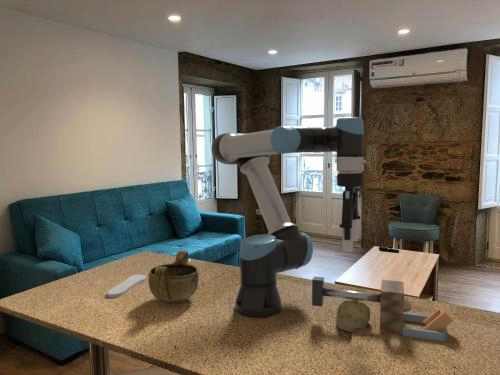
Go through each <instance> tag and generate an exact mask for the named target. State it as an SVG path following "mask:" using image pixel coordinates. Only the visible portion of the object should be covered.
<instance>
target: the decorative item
mask: <svg viewBox="0 0 500 375" xmlns="http://www.w3.org/2000/svg"><path fill="white" fill-rule="evenodd" d="M370 318H371V308H370V307H369V306H368V305H367V304H366V303H364V301H360V300H352V299H344V300H343V301H342V302H341V303H340V304H339V305H338V308H337V311H336V320H335V324H336V326H337V327H338V328H339V329H341V330H343V331H345V332H347V333H353V332H354V330H355V329H363V328H366V327H367V326H368V325H369V321H370Z"/></svg>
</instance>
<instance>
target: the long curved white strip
mask: <svg viewBox="0 0 500 375" xmlns="http://www.w3.org/2000/svg"><path fill="white" fill-rule="evenodd" d="M147 280H148V278H147V275H144V274H133V275H130V276H129V277H128V278H127V279H125V280H124V281H123V282H121V283H119V284H117V285H116V286H113V287H111V288H110V289H109V290H107V292H106V297H107V298H109V297H110V299H111V298H112V299H114V298H119V297H121V296H124V295H126V293H128V292H129V291H130V290H132V289H133V288H134V287H136V286H139V285H140V284H141V283H144V282H146V281H147ZM123 294H124V295H123Z"/></svg>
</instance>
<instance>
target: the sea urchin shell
mask: <svg viewBox="0 0 500 375" xmlns="http://www.w3.org/2000/svg"><path fill="white" fill-rule="evenodd" d="M379 305H381V303H379ZM410 308H411V303H410V301H409V299H408V298H407V297H406V296H405V295H404V311H408V310H410Z"/></svg>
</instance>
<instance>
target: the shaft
mask: <svg viewBox="0 0 500 375" xmlns="http://www.w3.org/2000/svg"><path fill="white" fill-rule="evenodd" d="M311 280H312V281H311V294H312V295H311V306H314V307H323V305H324V302H325V301H324V298H325V297H328V298H336V299H343V300H349V299H352V300H359V301H361V302H370V303H378V304H380V303H381V293H371V292H362V291H355V290H344V289H336V288H329V287H327V288H325V277H321V276H313V277H312V279H311Z"/></svg>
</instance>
